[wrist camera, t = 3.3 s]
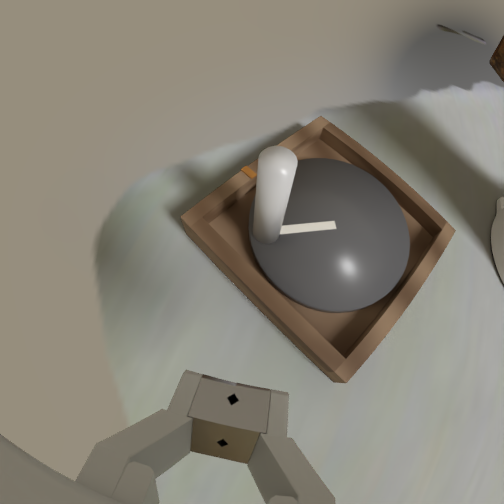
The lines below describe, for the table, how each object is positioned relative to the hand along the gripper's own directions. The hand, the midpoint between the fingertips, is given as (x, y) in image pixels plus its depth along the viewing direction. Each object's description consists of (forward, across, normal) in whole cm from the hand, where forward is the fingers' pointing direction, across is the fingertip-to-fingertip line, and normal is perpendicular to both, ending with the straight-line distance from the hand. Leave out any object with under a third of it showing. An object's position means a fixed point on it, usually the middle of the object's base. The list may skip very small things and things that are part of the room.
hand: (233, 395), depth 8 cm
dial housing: (+24, -6, +2) cm, 24 cm away
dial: (+22, -6, +1) cm, 23 cm away
